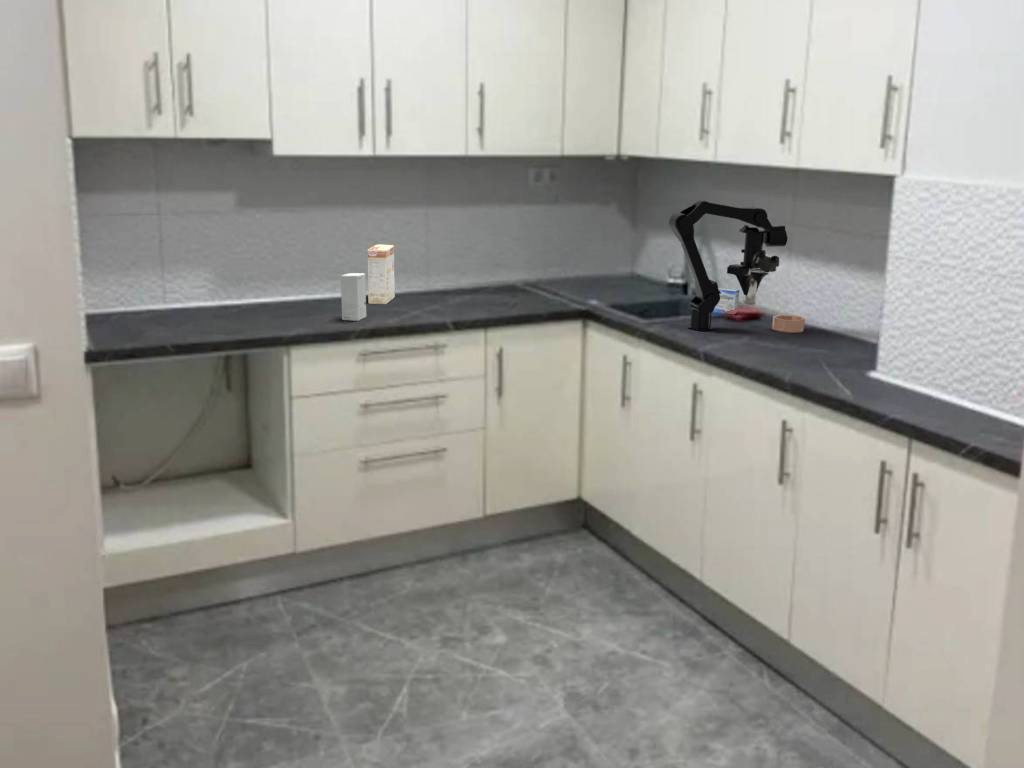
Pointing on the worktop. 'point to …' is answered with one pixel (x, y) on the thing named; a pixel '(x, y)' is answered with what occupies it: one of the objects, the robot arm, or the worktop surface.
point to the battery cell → (751, 293)
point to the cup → (788, 323)
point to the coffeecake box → (381, 274)
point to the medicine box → (727, 301)
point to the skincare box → (353, 296)
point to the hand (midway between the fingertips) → (749, 294)
